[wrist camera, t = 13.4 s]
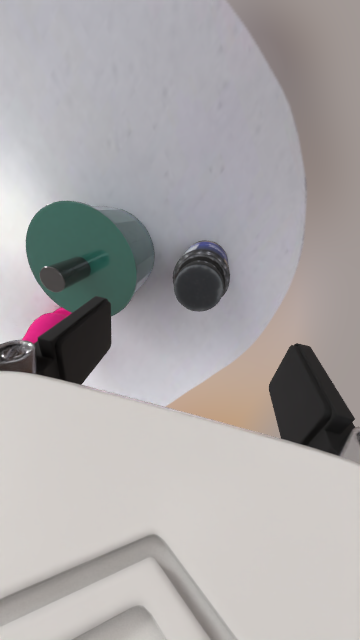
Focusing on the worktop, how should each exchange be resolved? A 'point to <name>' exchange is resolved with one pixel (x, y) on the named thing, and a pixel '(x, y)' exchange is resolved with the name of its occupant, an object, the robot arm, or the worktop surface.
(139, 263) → the pot
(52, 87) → the worktop surface
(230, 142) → the worktop surface
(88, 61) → the worktop surface
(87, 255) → the pot lid
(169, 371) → the worktop surface
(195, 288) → the pill bottle
